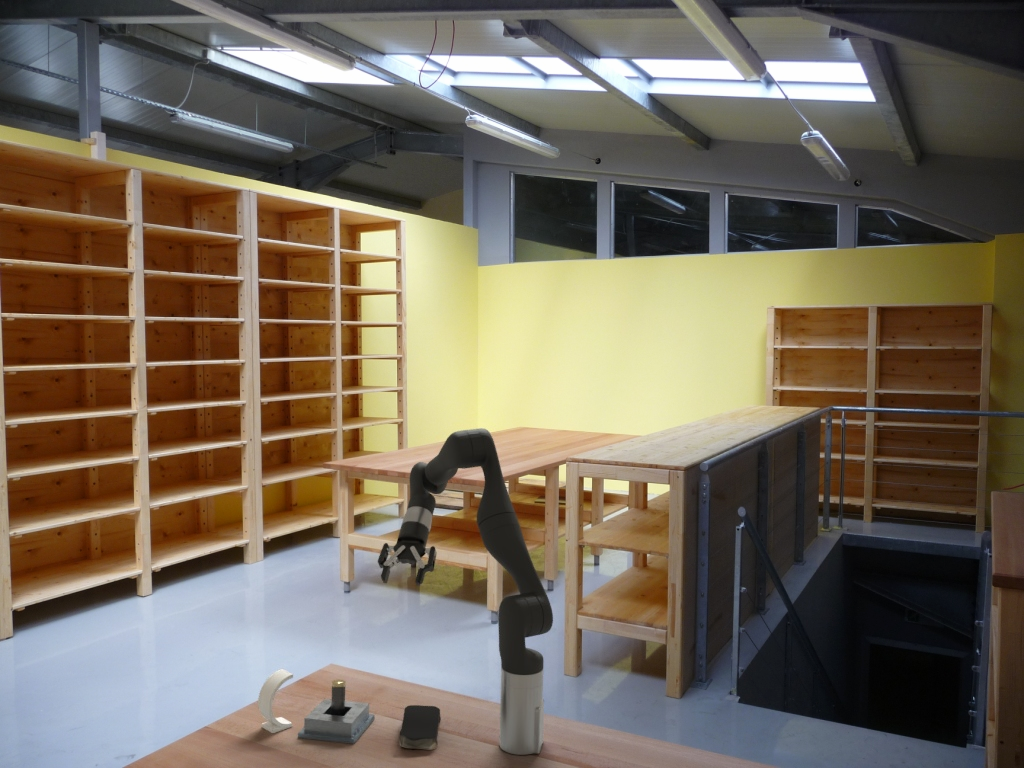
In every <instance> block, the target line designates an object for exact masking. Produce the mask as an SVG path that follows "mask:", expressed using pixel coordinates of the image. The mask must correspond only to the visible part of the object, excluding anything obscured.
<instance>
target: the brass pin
mask: <svg viewBox="0 0 1024 768" xmlns="http://www.w3.org/2000/svg"><path fill="white" fill-rule="evenodd" d="M346 682H347V681H346V680H345V679H335V680H333V681H331V699H332V702H331V715H337V716H345V701H346Z"/></svg>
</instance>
